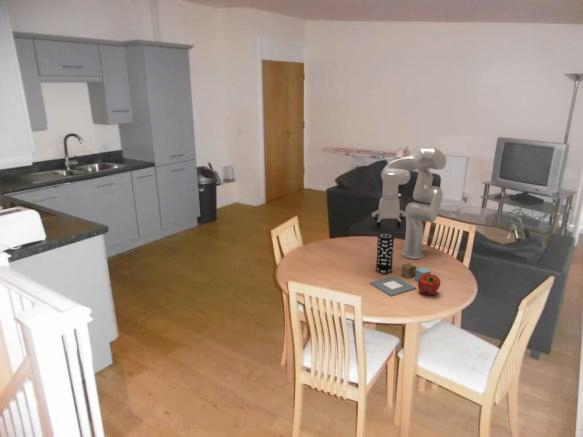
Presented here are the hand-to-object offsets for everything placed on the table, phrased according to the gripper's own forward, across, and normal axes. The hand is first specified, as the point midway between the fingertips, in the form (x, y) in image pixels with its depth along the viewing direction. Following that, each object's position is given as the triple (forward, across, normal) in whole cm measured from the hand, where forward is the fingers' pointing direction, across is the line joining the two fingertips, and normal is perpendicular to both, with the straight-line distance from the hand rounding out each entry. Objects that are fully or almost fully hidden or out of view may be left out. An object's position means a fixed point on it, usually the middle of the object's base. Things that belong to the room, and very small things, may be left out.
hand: (388, 228), depth 216 cm
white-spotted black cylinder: (+26, 0, -4) cm, 26 cm away
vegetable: (+25, -16, +22) cm, 37 cm away
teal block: (+25, -17, +9) cm, 32 cm away
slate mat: (+25, 0, +14) cm, 29 cm away
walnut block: (+25, -11, +3) cm, 28 cm away
